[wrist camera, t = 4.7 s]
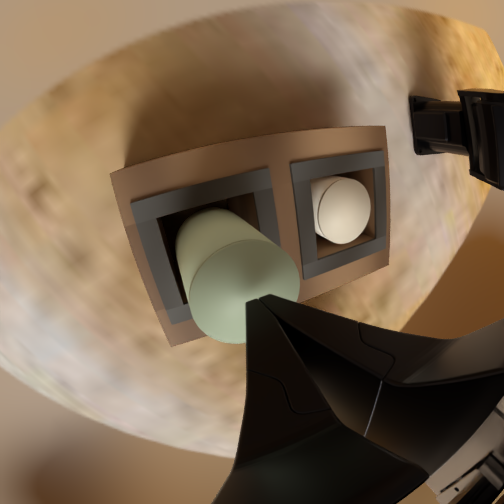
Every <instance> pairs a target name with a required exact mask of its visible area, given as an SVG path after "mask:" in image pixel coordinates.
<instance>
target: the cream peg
mask: <svg viewBox="0 0 504 504" xmlns="http://www.w3.org/2000/svg"><path fill="white" fill-rule="evenodd" d="M310 184H311V192H312V201H313V211H314V221H315V232H316V233H317V234H319V235H321V236H322V237H324V238H326V239H328V240H330V241H332V242H334V243H337V244H345V243H348V242H351V241H353V240H354V239H356V238H357V237H358V236H359V235H360V234H361V233H362V231H363V230H364V228H365V227H366V225H367V222H368V220H369V216H370V209H371V205H370V198H369V194H368V192H367V190H366V189H365V187H364V186H363V185H362V184H361V183H360V182H358V181H356V180H354V179H349V178H344V177H339V176H334V175H330V176H325V177H320V178H315V179H310Z"/></svg>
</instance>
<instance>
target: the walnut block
mask: <svg viewBox="0 0 504 504" xmlns="http://www.w3.org/2000/svg"><path fill="white" fill-rule="evenodd" d="M330 175H334V176H339V177H344V178H349V179H354V180H356V181H358V182H360V183H361V184H362V185H363V186H364V187H365V189H366V190H367V192H368V194H369V198H370V205H371V209H370V216H369V220H368V222H367V225H366V227H365V228H364V230H363V231H362V233H361V234H360V235H359V236H358V237H357V238H356V239H354V240H353V241H351V242H348V243H345V244H337V243H334V242H332V241H330V240H328V239H326V238H324V237H322V236H321V235H319V234H317V233H316V232H315V221H314V211H313V201H312V192H311V184H310V179H315V178H320V177H325V176H330ZM110 177H111V181H112V185H113V189H114V193H115V197H116V200H117V204H118V207H119V211H120V214H121V218H122V221H123V224H124V227H125V231H126V234H127V237H128V240H129V243H130V246H131V249H132V252H133V255H134V258H135V261H136V263H137V266H138V269H139V272H140V274H141V277H142V280H143V282H144V285H145V288H146V290H147V293H148V295H149V298H150V300H151V303H152V305H153V308H154V310H155V312H156V315H157V317H158V319H159V322H160V324H161V326H162V329H163V331H164V333H165V335H166V337H167V340H168V342H169V344H170V346H171V347H173V346H176V345H179V344H183V343H186V342H189V341H192V340H196V339H199V338H202V337H205V336H208V335H206V334H205V333H204V332H203V331H202V330H201V329H200V328H199V327H198V326H197V324H196V323H195V321H194V319H193V316H192V313H191V310H190V306H189V303H188V299H187V296H186V292H185V288H184V285H183V281H182V277H181V273H180V269H179V265H178V261H173V258H172V254H171V251H170V248H169V244H168V241H167V238H166V234H165V231H164V227H163V224H162V220H161V217H162V216H165V215H168V214H172V213H175V212H179V211H182V210H186V209H189V208H193V207H197V206H200V205H204V204H208V203H212V202H215V201H219V200H223V199H227V202H228V207H229V211H231V212H233V213H235V214H236V215H238V216H239V217H240V218H242V219H243V220H244V221H246V222H247V223H248V224H250V225H251V226H252V227H254V228H255V229H256V230H258V231H259V232H260V233H262V234H263V235H264V236H265V237H267V238H268V239H269V240H271V241H272V242H273V243H275V244H276V245H277V246H279V247H280V248H281V249H283V250H284V251H285V252H286V253H287V254H288V255H289V256H290V257H291V258H292V260H293V261H294V263H295V265H296V267H297V269H298V272H299V278H300V289H299V295H298V299H297V301H296V302H297V303H300V302H303V301H306V300H308V299H311V298H313V297H316V296H318V295H321V294H323V293H325V292H328V291H330V290H333V289H335V288H337V287H340V286H342V285H344V284H347V283H349V282H351V281H354V280H356V279H358V278H361V277H363V276H365V275H367V274H370V273H372V272H374V271H376V270H378V269H381V268H383V267H385V266H387V265H389V248H390V179H389V161H388V148H387V138H386V128H385V126H349V127H330V128H318V129H308V130H299V131H290V132H283V133H275V134H268V135H262V136H255V137H249V138H243V139H238V140H232V141H227V142H222V143H217V144H212V145H208V146H203V147H199V148H194V149H190V150H186V151H182V152H178V153H174V154H170V155H166V156H162V157H158V158H155V159H151V160H148V161H144V162H141V163H138V164H134V165H131V166H128V167H125V168H122V169H120V170H117V171H115V172H112V173H110Z"/></svg>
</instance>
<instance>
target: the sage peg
mask: <svg viewBox="0 0 504 504" xmlns="http://www.w3.org/2000/svg"><path fill="white" fill-rule="evenodd" d="M175 253H176V257H177V261H178V265H179V269H180V273H181V277H182V281H183V285H184V288H185V292H186V296H187V299H188V303H189V306H190V310H191V313H192V316H193V319H194V321H195V323H196V324H197V326H198V327H199V328H200V329H201V330H202V331H203V332H204V333H205V334H206V335H208V336H209V337H211V338H213V339H215V340H218V341H221V342H225V343H233V344H239V343H246V319H245V303H246V302H247V301H250V300H253V299H259V297H262V296H265V295H267V294H273V295H276V296H279V297H282V298H285V299H288V300H291V301H294V302H296V301H297V299H298V295H299V289H300V278H299V272H298V269H297V267H296V265H295V263H294V261H293V260H292V258H291V257H290V256H289V255H288V254H287V253H286V252H285V251H284V250H283V249H281V248H280V247H279V246H277V245H276V244H275V243H273V242H272V241H271V240H269V239H268V238H267V237H265V236H264V235H263V234H262V233H260V232H259V231H258V230H256V229H255V228H254V227H252V226H251V225H250V224H248V223H247V222H246V221H244V220H243V219H242V218H240V217H239V216H238V215H236V214H235V213H233V212H231V211H229V210H227V209H223V208H206V209H203V210H200V211H198V212H196V213H194V214H193V215H191V216H190V217H189V218H187V219H186V220H185V222H184V223H183V224H182V226H181V227H180V229H179V231H178V233H177V236H176V240H175Z"/></svg>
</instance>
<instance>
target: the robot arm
mask: <svg viewBox="0 0 504 504" xmlns="http://www.w3.org/2000/svg"><path fill="white" fill-rule="evenodd" d="M457 92H458V96H459V98H460V102H459V101H441V100H437V99H432V98H426V97H420V96H410V98H409V100H410V107H411V114H412V123H413V133H414V144H415V153H416V154H417V155H429V154H440V153H452V154H458V155H464V156H469V162H470V169H469V172H470V175H472V176H474V177H476V178H477V179H479V180H481V181H484V182H486V183H488V184H490V185H492V186H494V187H496V188H498V189H500V190H503V191H504V91H499V90H493V89H464V90H457ZM480 98H481V100H480ZM245 319H246V371H247V372H246V399H245V407H244V414H243V420H242V425H241V431H240V437H239V442H238V448H237V452H236V457H235V460H234V464H233V467H232V470H231V472H230V474H229V476H228V477H227V479H226V481H225V482H224V484H223V486H222V487H221V489H220V490H219V492H218V494H217V495H216V497H215V499H214V500H213V502H212V503H211V504H397V503H398V502H399V501H401V500H402V499H404V498H405V497H406V496H408V495H409V494H410V493H412V492H413V491H414V490H415V489H417V488H418V487H419V486H420V485H422V484H423V483H424V482H425V483H426V484H427V485H428V486H429V487H430V488H431V489H432V490H433V491H434V493H435V494H436V495H437V497H436V499H437V501H438V502H439V503H440V504H492V502H493V501H494V500H495V499H496V498H497V497H498V495H499V494H500V493H501V492H502V490H503V489H504V318H503V319H501V320H499V321H497V322H495V323H493V324H491V325H488V326H486V327H484V328H482V329H479V330H477V331H475V332H472V333H470V334H468V335H465V336H463V337H460V338H455V339H437V338H431V337H425V336H419V335H414V334H408V333H402V332H397V331H393V330H388V329H384V328H380V327H376V326H372V325H369V324H365V323H362V322H359V323H358V321H355V320H352V319H348V318H345V317H342V316H338V315H335V314H332V313H329V312H325V311H322V310H319V309H316V308H313V307H310V306H306V305H303V304H300V303H297V302H294V301H291V300H288V299H285V298H282V297H279V296H276V295H273V294H267V295H265V296H262V297H259V299H253V300H250V301H247V302H246V303H245ZM495 504H504V494H503V495H502V496H501V497H500V498H499V500H498V501H497V502H496V503H495Z"/></svg>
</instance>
